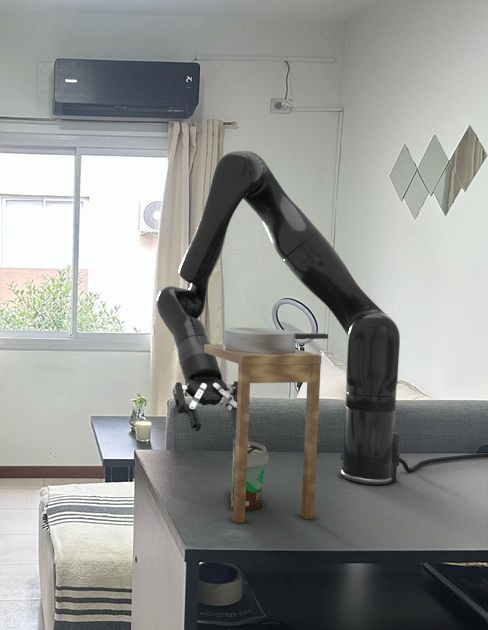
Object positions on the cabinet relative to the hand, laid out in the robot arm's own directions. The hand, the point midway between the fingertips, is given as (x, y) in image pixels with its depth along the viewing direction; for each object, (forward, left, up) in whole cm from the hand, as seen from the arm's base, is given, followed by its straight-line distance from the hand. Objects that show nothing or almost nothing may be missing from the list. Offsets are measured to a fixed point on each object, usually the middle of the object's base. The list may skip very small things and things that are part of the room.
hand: (218, 428), depth 146 cm
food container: (0, +15, -10) cm, 18 cm away
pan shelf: (-3, +16, -10) cm, 19 cm away
